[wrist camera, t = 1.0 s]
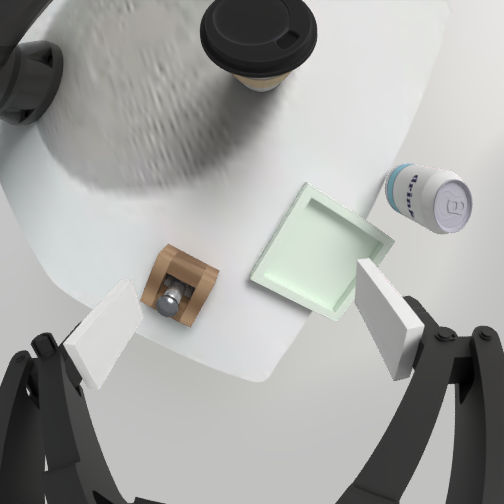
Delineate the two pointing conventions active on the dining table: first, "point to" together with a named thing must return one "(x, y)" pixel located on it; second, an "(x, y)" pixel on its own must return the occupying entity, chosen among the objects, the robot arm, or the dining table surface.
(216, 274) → the brown rectangular frame
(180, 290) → the grey round-topped rod
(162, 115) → the dining table surface
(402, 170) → the beverage can
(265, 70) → the coffee cup
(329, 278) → the tray
